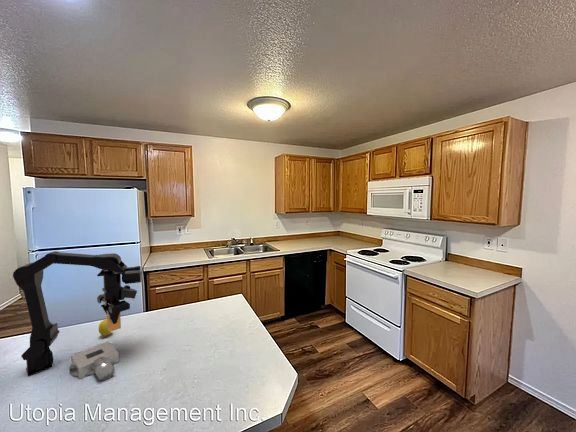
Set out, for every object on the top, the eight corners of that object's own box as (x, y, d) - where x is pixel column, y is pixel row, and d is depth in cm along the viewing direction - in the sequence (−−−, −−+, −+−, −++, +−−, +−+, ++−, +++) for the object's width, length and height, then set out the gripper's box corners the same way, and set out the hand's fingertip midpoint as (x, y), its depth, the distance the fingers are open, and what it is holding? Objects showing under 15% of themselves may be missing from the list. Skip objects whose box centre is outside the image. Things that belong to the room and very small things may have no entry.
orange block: (109, 332, 101) (108, 312, 100) (107, 330, 102) (106, 311, 102) (120, 328, 104) (120, 309, 103) (118, 326, 105) (118, 307, 105)
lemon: (101, 340, 112) (100, 323, 112) (97, 336, 116) (96, 319, 115) (115, 335, 117) (114, 318, 116) (111, 331, 120) (110, 315, 119)
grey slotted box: (79, 392, 82) (78, 378, 82) (65, 365, 96) (64, 353, 95) (130, 368, 94) (130, 355, 93) (111, 347, 107) (111, 336, 107)
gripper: (143, 285, 102) (144, 322, 103) (125, 276, 114) (127, 309, 115) (111, 292, 94) (113, 333, 95) (96, 282, 105) (97, 318, 106)
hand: (113, 322), depth 103 cm, fingers closed on orange block, 2 cm apart
